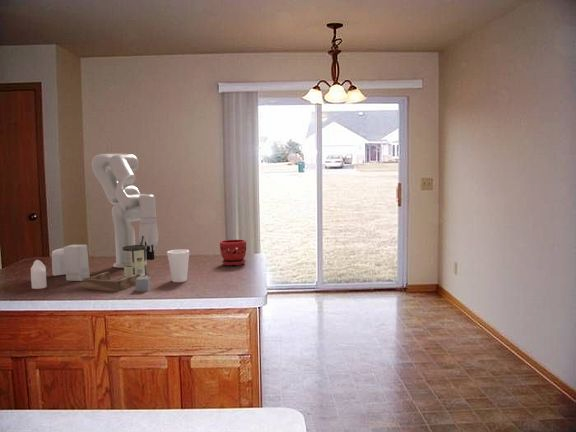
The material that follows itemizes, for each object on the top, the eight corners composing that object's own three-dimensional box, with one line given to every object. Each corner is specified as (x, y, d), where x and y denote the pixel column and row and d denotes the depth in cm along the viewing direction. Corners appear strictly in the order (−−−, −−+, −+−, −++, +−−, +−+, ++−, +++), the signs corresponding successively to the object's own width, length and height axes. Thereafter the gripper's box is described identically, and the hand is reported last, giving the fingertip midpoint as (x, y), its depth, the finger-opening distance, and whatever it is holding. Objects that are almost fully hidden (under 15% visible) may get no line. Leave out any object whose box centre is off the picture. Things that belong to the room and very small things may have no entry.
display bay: (107, 280, 257) (106, 271, 257) (140, 282, 252) (139, 273, 251) (83, 288, 242) (83, 279, 242) (118, 291, 237) (117, 281, 236)
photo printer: (74, 272, 277) (73, 246, 276) (76, 273, 274) (75, 247, 272) (51, 275, 271) (50, 248, 270) (53, 276, 268) (52, 250, 267)
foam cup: (171, 283, 249) (170, 254, 247) (165, 279, 257) (164, 250, 255) (193, 281, 253) (192, 251, 251) (186, 277, 261) (185, 248, 260)
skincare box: (90, 278, 262) (88, 244, 260) (80, 281, 256) (78, 246, 254) (74, 277, 265) (72, 243, 263) (65, 280, 259) (62, 246, 257)
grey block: (138, 288, 241) (138, 276, 241) (150, 288, 242) (150, 276, 241) (135, 291, 236) (135, 279, 236) (148, 291, 237) (147, 279, 236)
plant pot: (251, 263, 292) (251, 239, 290) (236, 267, 281) (235, 243, 280) (231, 260, 299) (230, 237, 297) (215, 265, 288) (214, 241, 286)
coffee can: (134, 274, 270) (132, 244, 269) (152, 275, 266) (150, 245, 264) (119, 278, 261) (117, 247, 259) (137, 280, 256) (135, 249, 255)
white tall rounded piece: (43, 257, 249) (46, 259, 245) (45, 285, 250) (48, 287, 246) (28, 259, 246) (31, 261, 241) (30, 287, 247) (33, 289, 242)
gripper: (150, 219, 280) (152, 257, 282) (132, 222, 266) (134, 262, 267) (163, 219, 277) (165, 257, 279) (146, 222, 263) (148, 262, 265)
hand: (150, 259), depth 273 cm, fingers closed
